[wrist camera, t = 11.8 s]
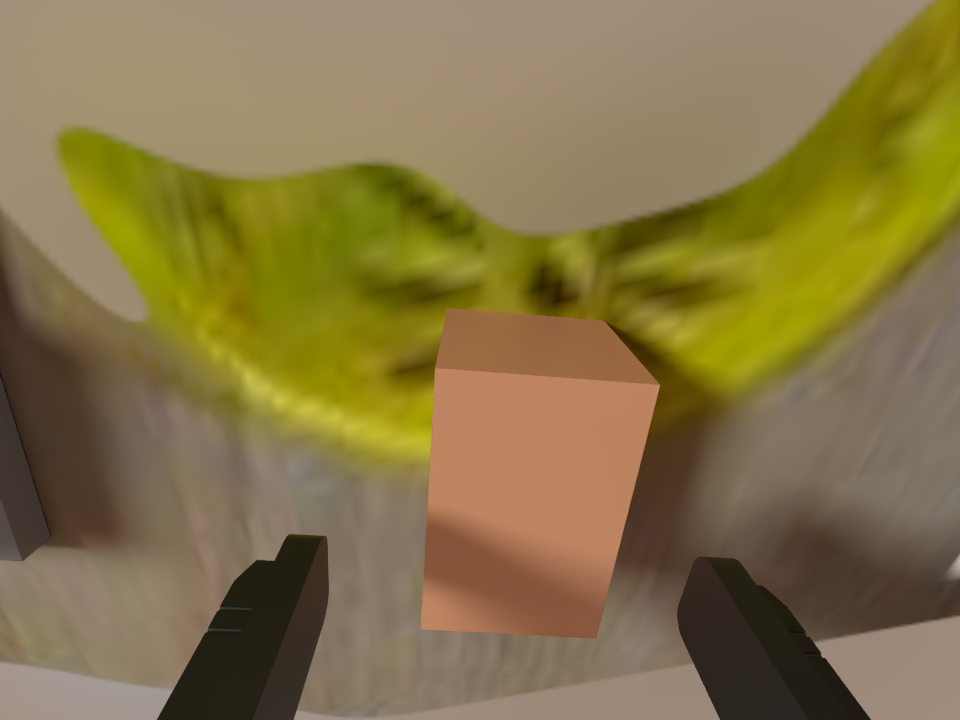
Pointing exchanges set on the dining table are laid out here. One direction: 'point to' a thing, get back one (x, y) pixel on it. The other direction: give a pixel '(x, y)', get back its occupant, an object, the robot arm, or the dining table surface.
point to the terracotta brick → (530, 471)
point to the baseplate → (17, 494)
